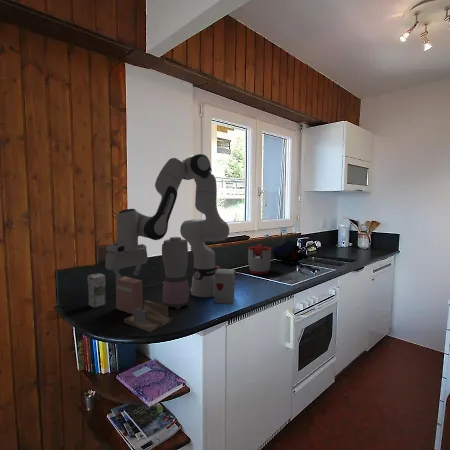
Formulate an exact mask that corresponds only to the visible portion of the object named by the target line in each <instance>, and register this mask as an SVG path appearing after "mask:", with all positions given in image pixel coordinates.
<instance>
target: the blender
mask: <svg viewBox="0 0 450 450" xmlns="http://www.w3.org/2000/svg"><path fill="white" fill-rule="evenodd" d="M188 244H189V243H188V241H187V240H185V239H184V238H183V239H182V236H181V237H180V236H172V237H170V238H169V239H165V240H164V241H163V243H162V244H161V260H162V262H163V268H164V272H165V273H164V274H165V278H164V280H163V284H162V305H164V306H168V308H169V307H171V308H175V310H181V307H184V306H186V307H188V306H189V305H190V284H189V280H188V278H187V272H188V271H187V270H188V265H189V247H188Z"/></svg>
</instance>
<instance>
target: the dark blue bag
mask: <svg viewBox="0 0 450 450" xmlns="http://www.w3.org/2000/svg"><path fill="white" fill-rule="evenodd" d="M300 251H301V248H300V245H298V243H297V242H296V241H294V240H290V239H289V240H286V241H285V242H283V243H282V244H280V245H276V246H275V247H274V249H273V250H272V254H273V256H274V259H276V261H280V262H283V263H285V264H286V265H287V266H288V267H290V266H291V264H295V265H298V266H301V263H300V261H302V260H308V258H309V255H307V254H306V253H302V252H300Z"/></svg>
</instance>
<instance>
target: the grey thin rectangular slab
mask: <svg viewBox="0 0 450 450" xmlns="http://www.w3.org/2000/svg"><path fill="white" fill-rule="evenodd" d="M132 316H133V320H134V321H137V322H139V323H142V324H145V325H146V324H148V318H147V311H145V310H144V309H143V310H142V309H139V308H136V307H135V308H133V314H132Z"/></svg>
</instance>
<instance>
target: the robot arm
mask: <svg viewBox="0 0 450 450" xmlns="http://www.w3.org/2000/svg"><path fill="white" fill-rule="evenodd" d="M216 179H217V177H216V175H215V174H214V173H213V172H212V163H211V161H210V159H209V157H208V156H207V155H206V154H203V153H196V154H194V155H190V156H188V157H187V158H185V159H183V160H181V159H180V158H177V157H171V158H169V159H168V160H167V161H166V163H165V164H164V166H163V167H162V169H161V170H160V171H159V173H158V176H157V178H156V180H155V183H154V187H155V190H156V191H157V193H158V194H159V195H160V196H161V199H160V202H159V204H158V207H157V210H156V212H155V214H153V215H152V216H147V215H145V214H143V213H141V212H139V211H138V210H137V209H135V208H128V209H122V210H120V211H118V213H117V219H116V231H117V236H116V241H115V242H113V243H111V244H109V245H107V246H106V248H105V250H106V254H105V259H104V261H105V264H104V265H105V268H106V270H109V271H113V273H114V274H115V275H116V276H115V280H116V279H121V278H122V277H123V275H122V274H120V269H124V268H125V269H126V268H130V267H134V266H135V270H134V271H133V275H134V276H138V275H139V274H140V270H141V268H142V265H144V264H147V263H148V259H149V258H148V252H147V246H146V244H144V243H139V237H142V238H146V239H150V240H153V241H159V240H161V239H163V238H164V237H165V236H166V234H167V232H168V227H169V220H170V218H171V215H172V212H173V209H174V207H175V204H176V201H177V197H178V190H179V187H180V185H181V183H182V181H183V180H185V181H190V180H194V182H195V195H194V196H195V197H194V198H195V202H194V203H195V204H194V206H195V209H196V210H197V211H198V212H200V213H201V214H203V215H204V216H205V219H188V220H184V221H183V222H182V223H181V225H180V229H179V232H180V235H181V238H183V239H184V240H187V243H188V244H189V245H190V248H191V250H192V253H193V268H192V273H193V275H192V277H191V278H192V280H191V287H189V291H190V294H191V295H192V296H194V297H197V298H211V297H214V298H215V272H216V271H217V269H221V267H220V265H216V252H215V251H214V249H212V248H211V247H209V246H207V245H206V243H205V242H220V241H225V240H226V239H227V238H228V237H229V235H230V227H229V225H228V223H227V222H226V221H225V220H224V219H223V218H222V217H221V216H220V214H219V211H218V206H217V202H218V201H217V199H218V198H217V196H218V194H217V193H218V187H217V180H216Z"/></svg>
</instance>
